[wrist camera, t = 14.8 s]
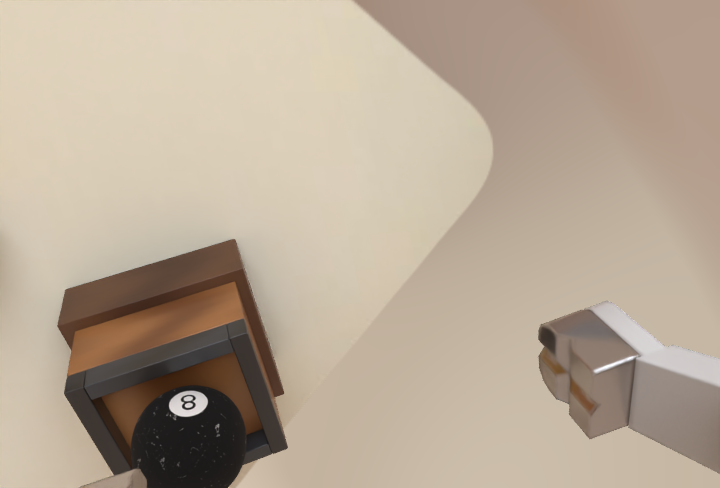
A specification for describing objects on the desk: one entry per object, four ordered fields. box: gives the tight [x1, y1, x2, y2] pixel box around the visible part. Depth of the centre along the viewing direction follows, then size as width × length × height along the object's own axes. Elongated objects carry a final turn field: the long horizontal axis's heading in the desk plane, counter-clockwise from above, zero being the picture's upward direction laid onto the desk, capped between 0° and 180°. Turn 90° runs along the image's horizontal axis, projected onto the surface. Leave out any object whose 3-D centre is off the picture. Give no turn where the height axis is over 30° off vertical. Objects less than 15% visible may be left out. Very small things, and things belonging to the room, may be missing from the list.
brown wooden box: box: [57, 239, 288, 475], centre depth 36 cm, size 11×11×9 cm
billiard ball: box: [131, 385, 247, 488], centre depth 31 cm, size 6×6×6 cm
